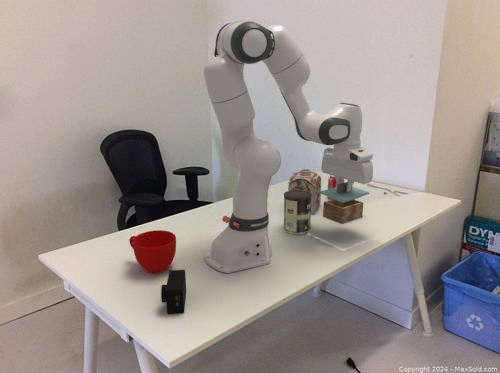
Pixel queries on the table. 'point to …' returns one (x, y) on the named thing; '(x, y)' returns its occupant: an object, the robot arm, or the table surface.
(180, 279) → the digital camera
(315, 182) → the decorative jar
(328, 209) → the walnut box
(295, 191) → the coffee can
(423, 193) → the table surface
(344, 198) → the lid
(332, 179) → the soda can
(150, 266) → the ceramic cup
